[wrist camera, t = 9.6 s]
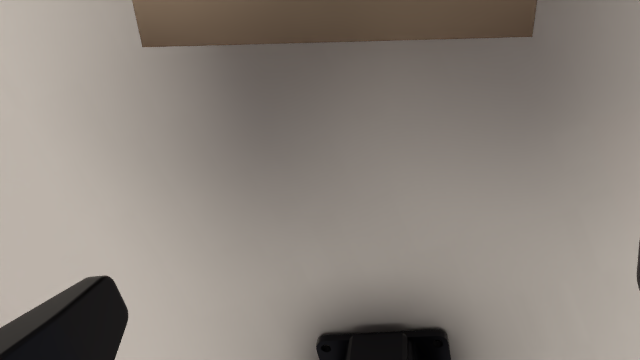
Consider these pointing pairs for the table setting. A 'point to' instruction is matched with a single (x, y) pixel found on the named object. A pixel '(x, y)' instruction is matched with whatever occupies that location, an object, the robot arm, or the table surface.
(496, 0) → the walnut block
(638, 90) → the table surface
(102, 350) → the robot arm
